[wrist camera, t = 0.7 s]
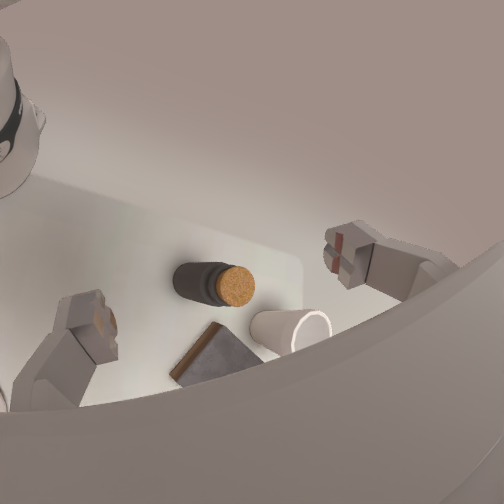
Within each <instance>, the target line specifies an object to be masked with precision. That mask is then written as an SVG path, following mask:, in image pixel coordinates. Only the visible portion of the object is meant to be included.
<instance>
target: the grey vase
mask: <svg viewBox="0 0 504 504" xmlns="http://www.w3.org/2000/svg"><path fill="white" fill-rule="evenodd" d="M0 412H7V408H6V404H5V401H4V399H3V397H2V395H1V393H0Z"/></svg>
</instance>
